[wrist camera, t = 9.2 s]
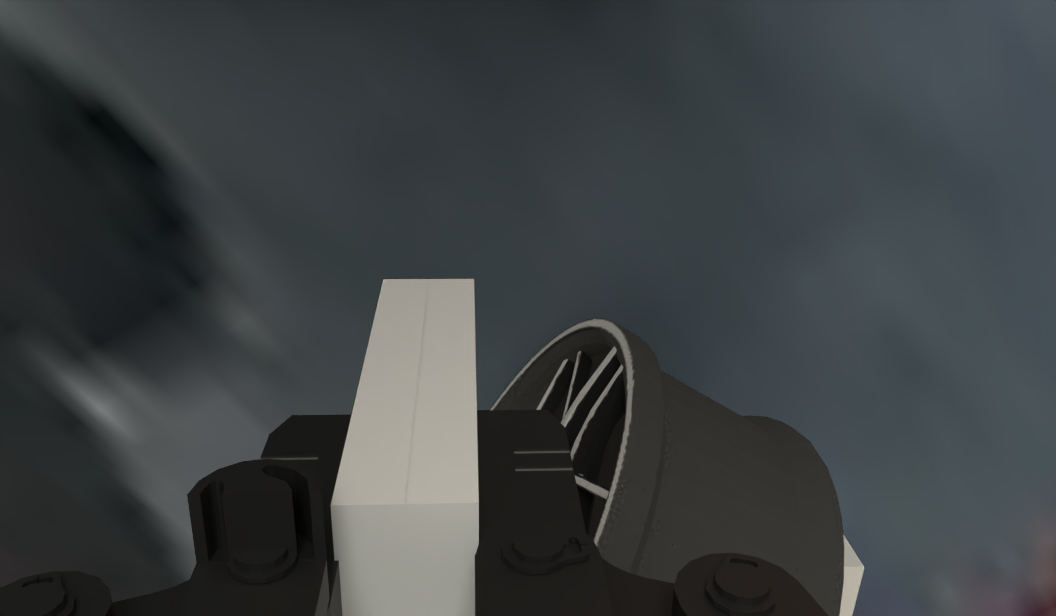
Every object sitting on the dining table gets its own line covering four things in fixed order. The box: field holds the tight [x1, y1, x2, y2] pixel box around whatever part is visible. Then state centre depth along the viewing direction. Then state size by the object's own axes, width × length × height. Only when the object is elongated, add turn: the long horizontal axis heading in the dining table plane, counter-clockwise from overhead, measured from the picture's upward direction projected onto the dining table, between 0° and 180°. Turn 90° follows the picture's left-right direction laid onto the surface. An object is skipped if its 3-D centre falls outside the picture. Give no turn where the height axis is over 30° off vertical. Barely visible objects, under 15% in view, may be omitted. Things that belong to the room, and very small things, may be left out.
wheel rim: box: [490, 318, 844, 616], centre depth 38 cm, size 20×9×20 cm, turn 148°
